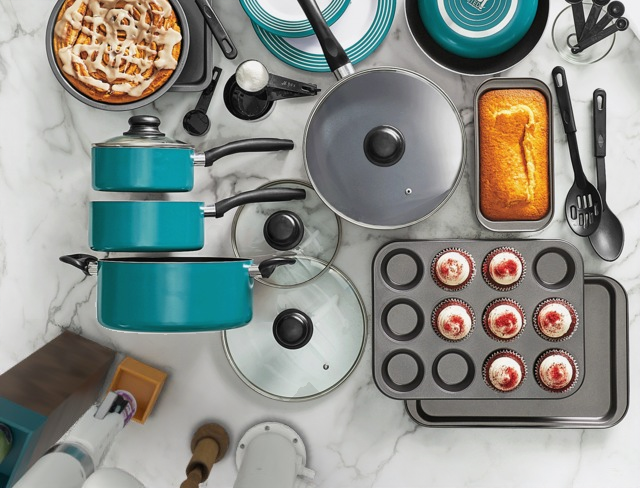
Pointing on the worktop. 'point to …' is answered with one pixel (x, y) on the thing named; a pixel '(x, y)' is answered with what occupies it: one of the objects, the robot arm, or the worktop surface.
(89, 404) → the riser
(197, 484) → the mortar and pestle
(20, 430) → the teal bin
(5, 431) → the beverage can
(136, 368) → the amber bin
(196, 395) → the worktop surface
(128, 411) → the pill bottle
